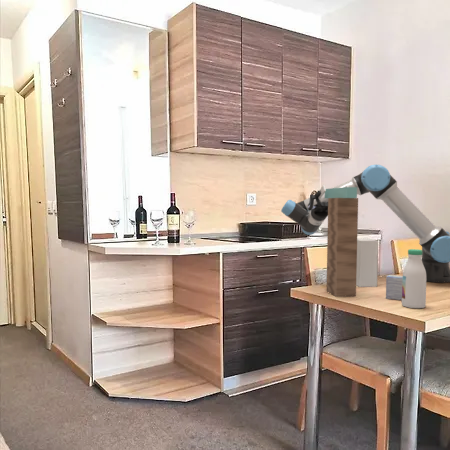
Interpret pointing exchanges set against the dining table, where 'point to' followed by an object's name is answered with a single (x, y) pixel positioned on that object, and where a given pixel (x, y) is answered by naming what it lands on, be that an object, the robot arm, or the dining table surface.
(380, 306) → the dining table surface
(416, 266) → the milk bottle
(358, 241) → the grey block
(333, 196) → the teal bar
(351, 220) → the walnut stand
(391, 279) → the medicine box
